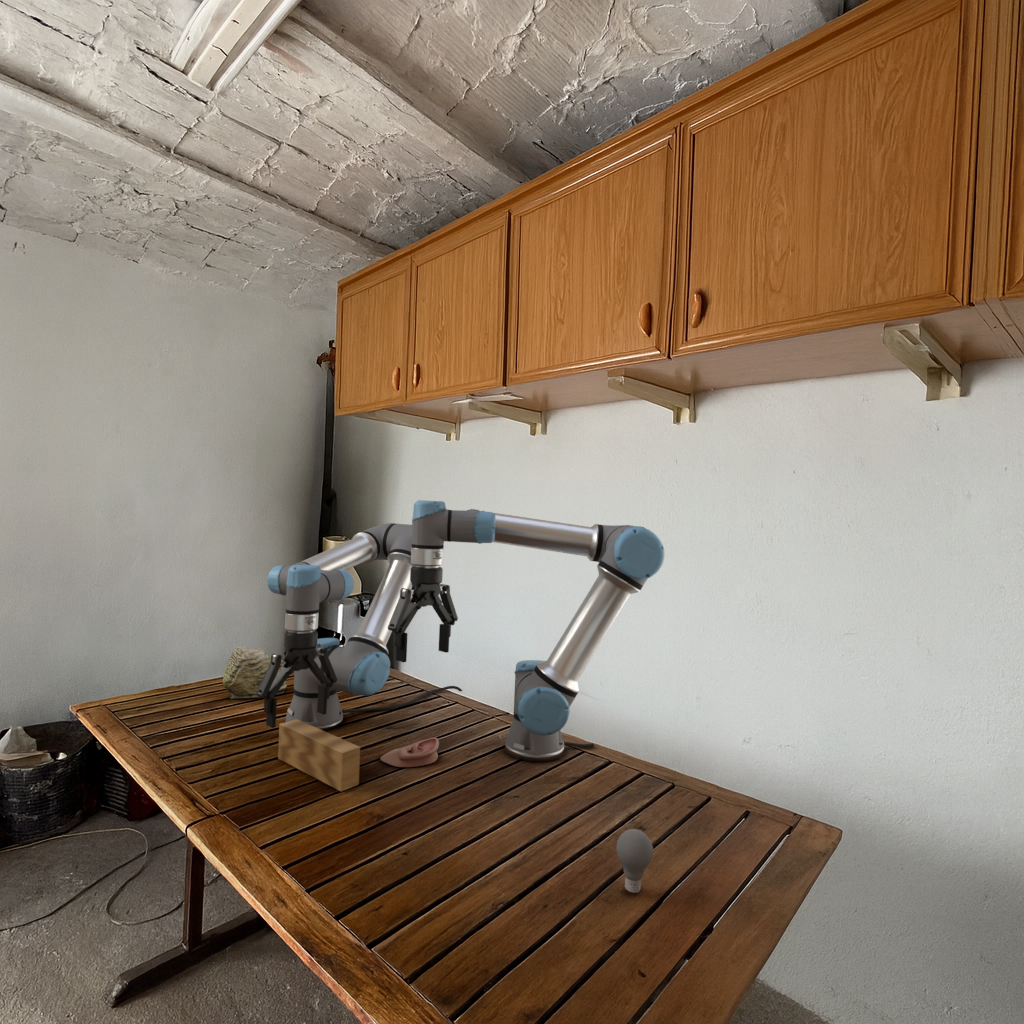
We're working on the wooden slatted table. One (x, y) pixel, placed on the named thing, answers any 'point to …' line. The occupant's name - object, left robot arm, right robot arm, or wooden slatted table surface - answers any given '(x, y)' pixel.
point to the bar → (319, 754)
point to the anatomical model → (413, 754)
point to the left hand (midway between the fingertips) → (297, 719)
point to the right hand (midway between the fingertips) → (423, 656)
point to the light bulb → (634, 857)
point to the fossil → (246, 672)
